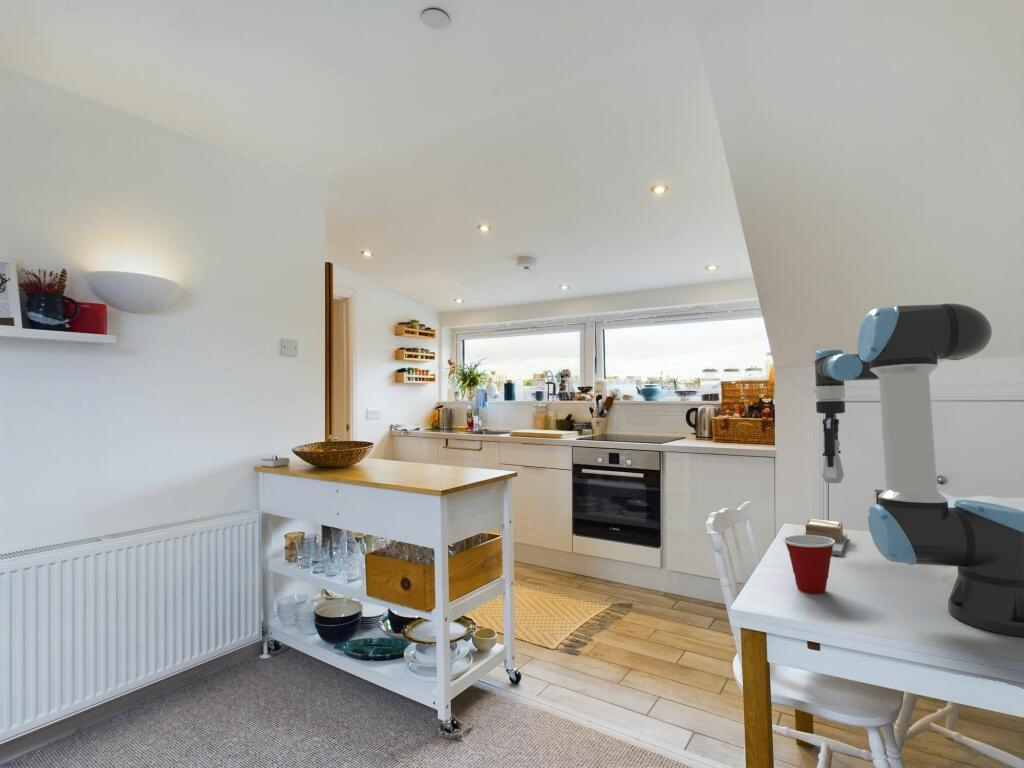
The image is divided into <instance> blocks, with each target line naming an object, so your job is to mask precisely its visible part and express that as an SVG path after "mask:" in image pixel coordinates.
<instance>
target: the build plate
mask: <svg viewBox="0 0 1024 768" xmlns="http://www.w3.org/2000/svg"><path fill="white" fill-rule="evenodd" d="M803 535H806V531H805V533H803ZM847 541H848V534H847V533H844V532H843V536H842V539H841V542H836V541H835V543H834V545H833V549H832V555H831V556H833V555H838V556H837V557H840V556H842V555H843V553H844V551H845V546H846V545H847ZM842 557H843V556H842Z"/></svg>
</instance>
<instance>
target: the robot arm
mask: <svg viewBox="0 0 1024 768" xmlns="http://www.w3.org/2000/svg"><path fill="white" fill-rule="evenodd" d="M863 318H864V319H863V320H862V322H861V325H860V326H859V327H860V328H859V331H858V336H857V353H844V351H843V350H842V349H839V348H838V349H837V348H836V349H835V348H834V349H821V350H817V351H816V352H815V353H814V361H813V362H814V372H815V374H814V375H815V389H813V394H814V393H816V394H815V399H817V401H816V402H815V406H816V407H815V411H816V413H817V414H824V415H825V417H824V419H822V425H823V437H824V438H823V439H824V440H823V441H824V446H823V447H824V451H823V452H822V457H824V456H825V466H826V478H837V475H836V456H835V455H836V454H835V440H838V441H839V430H840V429H839V424H840V419H837V414H844V413H845V412H846V402H845V400H844V399H845V398H846V388H845V387H846V386H845V381H846V382H847V381H849V382H850V381H871V380H872V381H873V380H874V381H875V380H878V382H879V383H878V384H879V396H880V397H879V399H880V412H881V415H880V417H881V431H882V432H881V433H882V445H883V447H882V448H883V460H884V476H885V488H884V491H883V492H881V493H880V494H879V495H878V504H875V503H874V505H871V506H870V507H869V508H868V513H867V523H868V529H869V532H870V535H871V539H872V541H873V543H874V545H875V546H876V549H877V550H878V552H879V553H880V554H881V555H882V557H883V558H885V559H886V560H887V561H890V562H892V563H900V564H907V565H911V566H915V565H925V566H926V565H927V566H928V565H929V566H943V567H957V577H956V580H955V582H954V584H953V587H952V590H951V592H950V595H949V597H948V600H947V610H948V613H949V615H951V616H952V617H953V618H954V619H956V620H958V621H961V622H962V623H965V624H967V625H969V626H973V627H976V628H978V629H981V630H984V631H985V630H986V631H988V632H989V631H990V632H993V633H998V634H1003V635H1008V636H1014V637H1015V636H1016V637H1020V638H1021V637H1023V638H1024V511H1023V510H1020V509H1018V508H1015V507H1012V506H1011V507H1010V506H1006V505H1001V504H996V503H991V502H985V501H979V500H971V499H957V500H955V502H954V503H953V506H954V507H949V501H948V498H946V497H945V496H944V495H943V494H941V493H940V492H939V490H938V481H937V479H938V478H937V467H936V466H937V465H936V453H935V441H934V439H935V438H934V427H933V426H934V424H933V413H932V399H931V387H930V385H931V383H930V374H931V373H932V372H934V371H935V370H936V369H937V368H938V367H939V365H938V364H940V363H943V362H945V361H947V360H949V361H959V360H960V361H961V360H963V359H966V358H967V359H968V358H970V357H972V356H975V355H977V354H979V353H980V352H983V350H985V348H986V347H987V346H988V345H989V343H990V341H991V338H992V334H993V333H992V332H993V331H992V326H991V323H990V321H989V320H988V319H987V317H986V316H985V315H984V314H983V313H982V312H981V311H979V310H978V309H976V308H974V307H972V306H969V305H965V304H962V303H961V304H960V303H942V304H941V303H940V304H914V305H913V304H911V305H910V304H909V305H893V306H888V307H887V306H886V307H877V308H874V309H872V310H870V311H869V312H868V313H867V314H866V315H865V317H863ZM839 448H840V447H838V452H839V454H841V453H842V451H841V450H840V449H839Z"/></svg>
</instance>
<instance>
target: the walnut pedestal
mask: <svg viewBox="0 0 1024 768" xmlns="http://www.w3.org/2000/svg"><path fill="white" fill-rule="evenodd" d="M843 529H844V528H843V521H833V520H827V519H826V520H825V519H815V518H809V519H808V521H807V522H806V523H805V532H806V535H816V536H824V537H828V538H832V539H834V540H835V541H836V542H841V539H842V536H843V533H844V532H843V531H844V530H843Z"/></svg>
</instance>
